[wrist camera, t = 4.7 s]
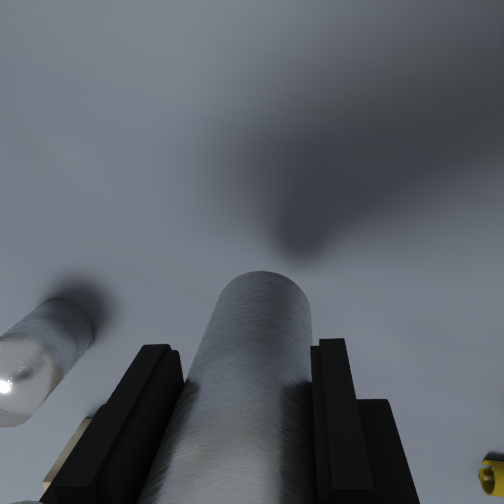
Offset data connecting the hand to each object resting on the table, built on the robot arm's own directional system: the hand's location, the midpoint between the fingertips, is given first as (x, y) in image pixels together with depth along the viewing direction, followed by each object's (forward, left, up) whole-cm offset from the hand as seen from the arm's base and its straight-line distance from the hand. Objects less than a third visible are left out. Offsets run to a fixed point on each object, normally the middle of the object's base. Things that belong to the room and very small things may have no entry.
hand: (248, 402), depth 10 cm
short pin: (+10, +3, -10) cm, 14 cm away
